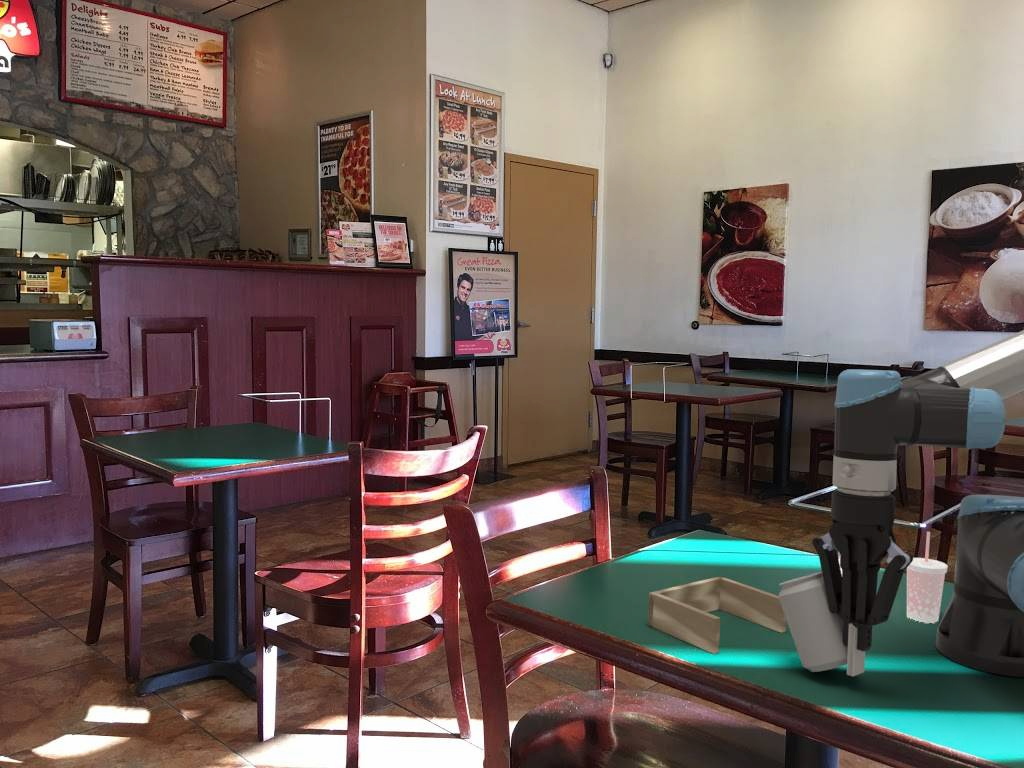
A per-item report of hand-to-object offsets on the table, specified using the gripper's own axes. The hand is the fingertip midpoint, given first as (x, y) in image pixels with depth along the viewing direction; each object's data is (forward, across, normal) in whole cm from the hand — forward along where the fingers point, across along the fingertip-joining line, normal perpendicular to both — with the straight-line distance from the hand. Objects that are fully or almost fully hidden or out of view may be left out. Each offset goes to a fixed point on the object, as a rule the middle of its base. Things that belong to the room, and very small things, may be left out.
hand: (855, 673), depth 112 cm
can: (0, -4, +1) cm, 4 cm away
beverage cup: (+1, -8, +33) cm, 34 cm away
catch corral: (+1, -23, +2) cm, 23 cm away
